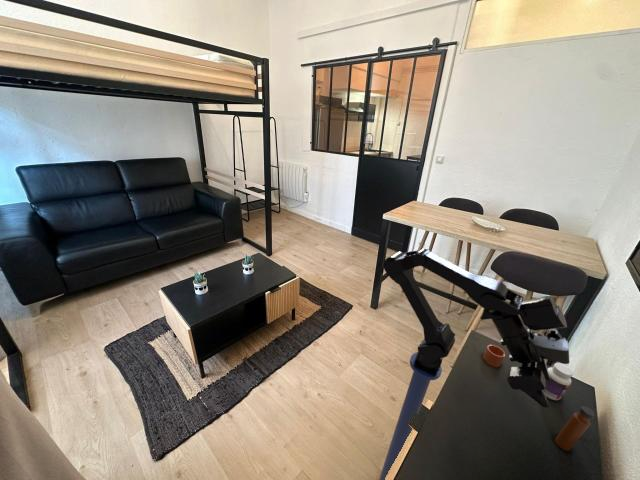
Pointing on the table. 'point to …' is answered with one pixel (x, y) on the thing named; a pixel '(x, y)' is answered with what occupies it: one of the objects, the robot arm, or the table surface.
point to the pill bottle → (558, 381)
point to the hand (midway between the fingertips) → (546, 392)
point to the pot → (493, 355)
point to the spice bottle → (574, 428)
